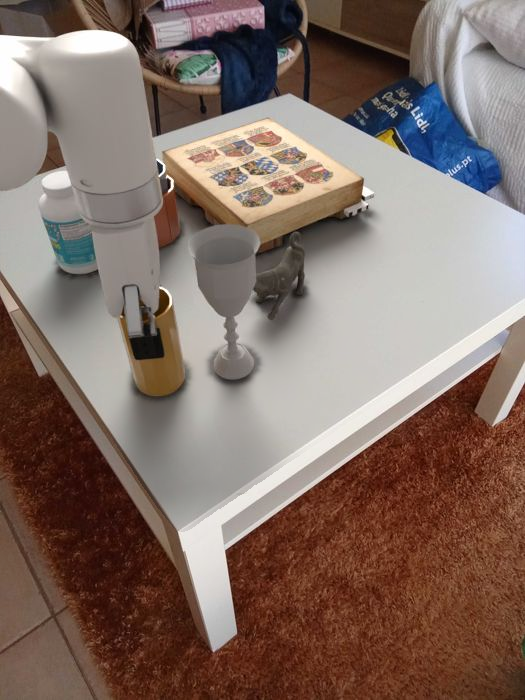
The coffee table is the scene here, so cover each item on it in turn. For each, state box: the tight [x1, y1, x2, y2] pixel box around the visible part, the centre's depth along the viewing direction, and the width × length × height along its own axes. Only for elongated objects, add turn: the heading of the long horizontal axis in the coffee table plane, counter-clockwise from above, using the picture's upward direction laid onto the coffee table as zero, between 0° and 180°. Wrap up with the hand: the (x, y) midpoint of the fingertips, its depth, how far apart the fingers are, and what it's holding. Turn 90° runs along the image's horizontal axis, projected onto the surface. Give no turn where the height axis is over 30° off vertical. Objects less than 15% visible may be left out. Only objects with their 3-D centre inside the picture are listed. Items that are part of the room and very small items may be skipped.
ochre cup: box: [116, 286, 186, 397], centre depth 64 cm, size 6×6×12 cm
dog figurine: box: [253, 231, 306, 322], centre depth 75 cm, size 12×6×7 cm, turn 150°
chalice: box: [187, 224, 260, 381], centre depth 63 cm, size 7×7×18 cm
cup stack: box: [154, 158, 181, 249], centre depth 86 cm, size 9×9×11 cm
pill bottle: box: [38, 170, 98, 275], centre depth 79 cm, size 8×7×14 cm
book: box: [161, 117, 375, 255], centre depth 93 cm, size 25×6×28 cm
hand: (150, 333), depth 63 cm, fingers closed on ochre cup, 6 cm apart
